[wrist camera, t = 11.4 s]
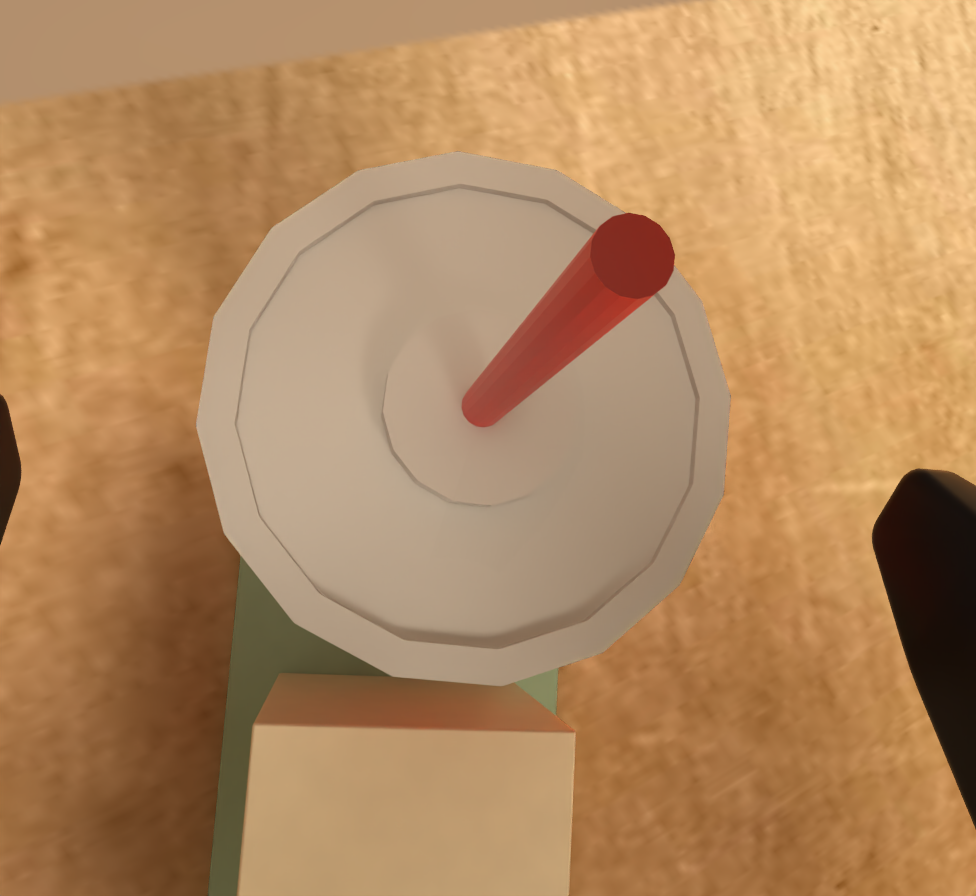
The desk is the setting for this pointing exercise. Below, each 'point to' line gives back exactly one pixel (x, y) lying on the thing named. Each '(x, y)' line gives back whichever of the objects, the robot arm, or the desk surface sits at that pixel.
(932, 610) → the robot arm
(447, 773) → the cream block
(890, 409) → the desk surface
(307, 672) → the line mat
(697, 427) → the beverage cup
